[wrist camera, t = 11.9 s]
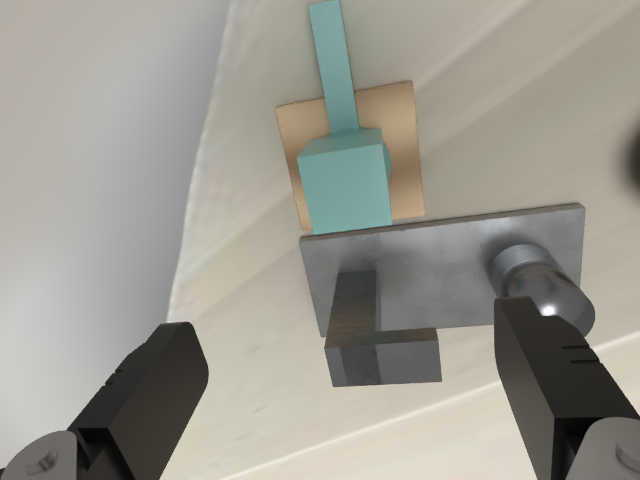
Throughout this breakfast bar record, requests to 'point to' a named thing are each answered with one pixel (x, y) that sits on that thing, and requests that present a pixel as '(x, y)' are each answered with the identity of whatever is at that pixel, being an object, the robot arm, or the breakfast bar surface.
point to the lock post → (437, 286)
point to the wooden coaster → (373, 112)
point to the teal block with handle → (342, 142)
